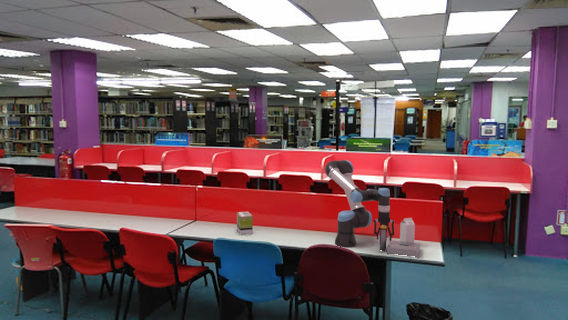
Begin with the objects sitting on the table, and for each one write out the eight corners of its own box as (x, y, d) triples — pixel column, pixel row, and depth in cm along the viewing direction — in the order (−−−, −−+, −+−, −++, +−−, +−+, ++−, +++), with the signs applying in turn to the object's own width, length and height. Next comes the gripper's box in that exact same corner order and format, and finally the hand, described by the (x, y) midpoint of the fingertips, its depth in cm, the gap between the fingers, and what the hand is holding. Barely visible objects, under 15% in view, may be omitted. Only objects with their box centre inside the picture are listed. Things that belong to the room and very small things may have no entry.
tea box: (236, 229, 310) (236, 211, 309) (248, 229, 313) (248, 211, 312) (240, 235, 296) (240, 216, 295) (252, 234, 299) (253, 215, 298)
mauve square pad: (386, 254, 257) (387, 245, 256) (389, 245, 275) (390, 237, 275) (418, 258, 249) (419, 249, 249) (419, 249, 268) (420, 240, 268)
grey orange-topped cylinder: (377, 251, 262) (378, 225, 261) (378, 248, 268) (379, 223, 266) (386, 252, 260) (388, 226, 259) (387, 249, 266) (388, 224, 264)
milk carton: (399, 242, 282) (400, 217, 280) (407, 242, 284) (408, 216, 282) (405, 245, 275) (407, 219, 273) (414, 244, 278) (415, 218, 276)
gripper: (369, 211, 262) (369, 245, 263) (398, 213, 255) (398, 247, 257) (370, 209, 269) (370, 242, 270) (399, 210, 262) (399, 244, 264)
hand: (384, 244), depth 263 cm, fingers open, 6 cm apart
